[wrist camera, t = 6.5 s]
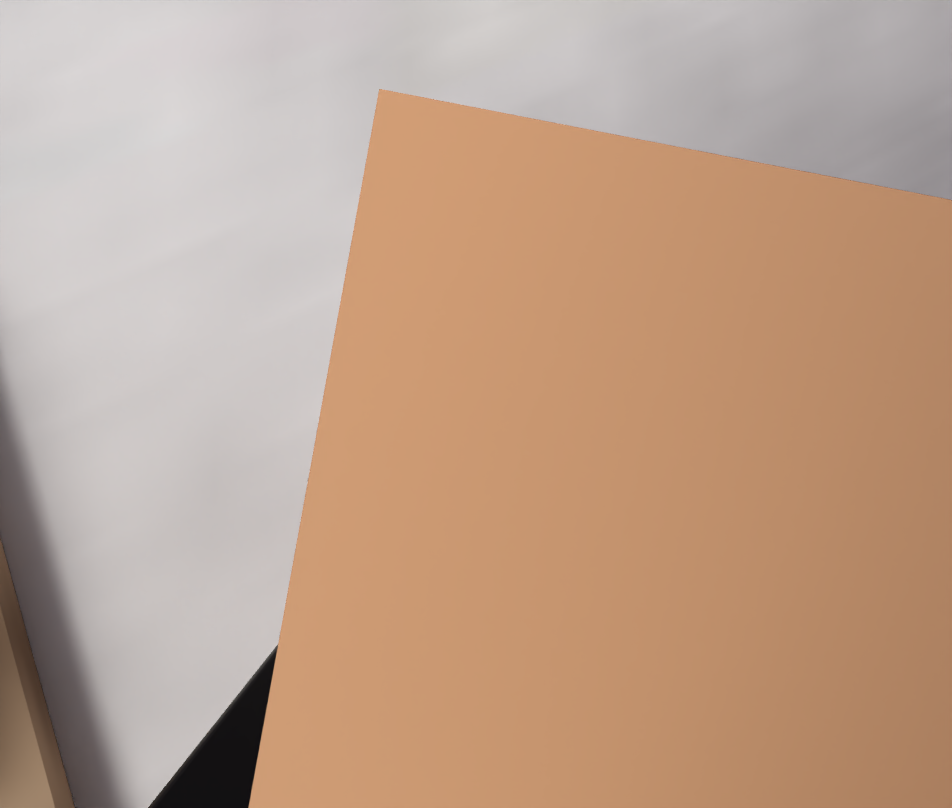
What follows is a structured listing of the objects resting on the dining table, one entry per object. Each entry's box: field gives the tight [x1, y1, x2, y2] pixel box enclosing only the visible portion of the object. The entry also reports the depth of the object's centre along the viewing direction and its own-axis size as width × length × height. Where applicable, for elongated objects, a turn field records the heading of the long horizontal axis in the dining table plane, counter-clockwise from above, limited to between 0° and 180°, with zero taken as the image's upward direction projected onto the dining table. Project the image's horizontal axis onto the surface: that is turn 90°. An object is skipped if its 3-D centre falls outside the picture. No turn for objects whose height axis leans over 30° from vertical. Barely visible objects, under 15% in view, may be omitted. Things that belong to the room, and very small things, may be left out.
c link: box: [249, 89, 952, 808], centre depth 9 cm, size 6×4×12 cm, turn 172°
